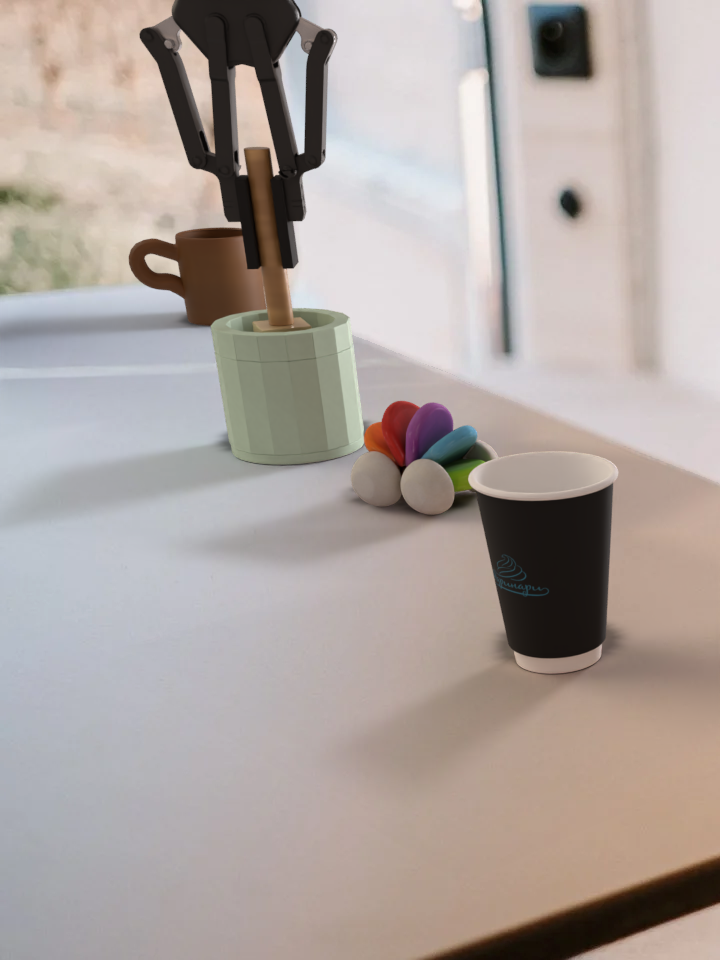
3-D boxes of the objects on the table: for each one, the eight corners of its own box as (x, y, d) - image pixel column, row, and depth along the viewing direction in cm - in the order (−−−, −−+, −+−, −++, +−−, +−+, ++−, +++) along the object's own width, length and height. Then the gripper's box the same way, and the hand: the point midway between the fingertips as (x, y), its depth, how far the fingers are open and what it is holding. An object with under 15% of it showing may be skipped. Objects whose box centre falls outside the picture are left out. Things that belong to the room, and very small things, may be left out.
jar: (221, 467, 122) (199, 337, 118) (243, 432, 131) (224, 309, 127) (357, 462, 124) (340, 333, 120) (370, 427, 133) (355, 306, 129)
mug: (144, 340, 159) (126, 243, 155) (138, 325, 165) (121, 231, 161) (273, 330, 164) (260, 236, 160) (263, 315, 170) (250, 225, 167)
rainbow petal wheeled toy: (413, 474, 122) (402, 380, 119) (521, 491, 119) (513, 395, 116) (336, 507, 114) (322, 407, 112) (449, 526, 111) (438, 424, 109)
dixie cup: (474, 686, 88) (454, 494, 83) (500, 629, 95) (482, 450, 91) (621, 684, 88) (609, 494, 84) (636, 628, 96) (625, 450, 91)
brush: (267, 369, 123) (235, 151, 116) (257, 359, 125) (225, 146, 119) (316, 364, 124) (287, 149, 118) (306, 354, 127) (277, 144, 121)
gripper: (95, -78, 108) (156, 276, 117) (330, -72, 111) (371, 273, 120) (122, -77, 114) (178, 258, 124) (343, -71, 118) (381, 255, 127)
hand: (273, 265), depth 122 cm, fingers closed on brush, 2 cm apart
